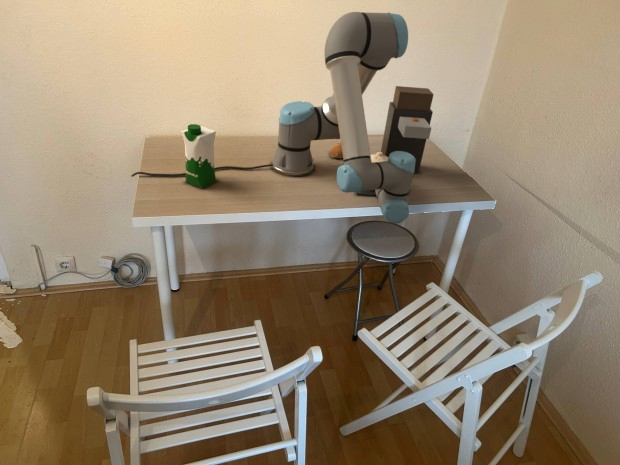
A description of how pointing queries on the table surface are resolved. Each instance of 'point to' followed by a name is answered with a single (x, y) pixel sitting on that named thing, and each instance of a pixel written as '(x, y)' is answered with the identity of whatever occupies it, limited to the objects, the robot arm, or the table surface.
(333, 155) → the pastry
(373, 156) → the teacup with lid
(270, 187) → the table surface
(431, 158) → the table surface
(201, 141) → the milk carton
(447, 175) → the table surface
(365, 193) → the rubber mat
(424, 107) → the coffee maker
